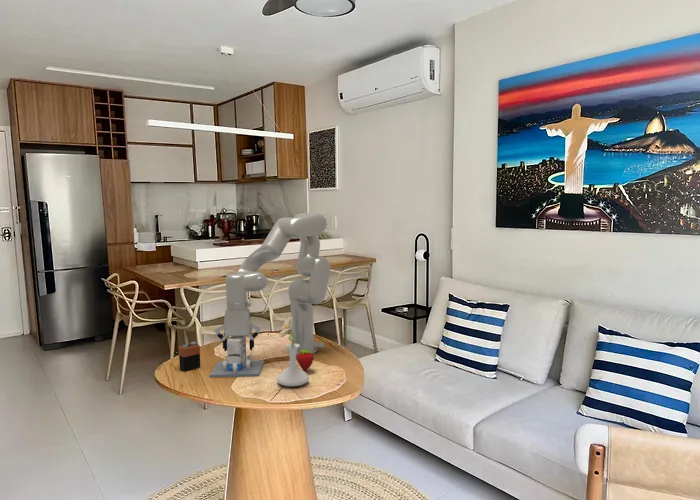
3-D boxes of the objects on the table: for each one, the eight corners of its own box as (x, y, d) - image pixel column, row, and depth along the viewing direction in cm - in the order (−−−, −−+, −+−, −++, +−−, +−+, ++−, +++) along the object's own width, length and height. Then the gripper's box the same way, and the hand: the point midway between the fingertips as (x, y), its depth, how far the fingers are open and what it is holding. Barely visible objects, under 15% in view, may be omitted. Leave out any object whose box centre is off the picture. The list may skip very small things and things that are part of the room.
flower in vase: (280, 377, 177) (278, 310, 175) (310, 378, 176) (310, 310, 174) (273, 391, 164) (272, 319, 162) (306, 391, 163) (305, 319, 161)
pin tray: (263, 362, 194) (263, 351, 194) (258, 376, 178) (258, 364, 178) (218, 363, 193) (218, 352, 193) (209, 377, 177) (209, 365, 177)
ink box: (239, 371, 181) (239, 340, 180) (227, 370, 182) (226, 340, 181) (247, 363, 190) (246, 334, 189) (235, 363, 190) (234, 334, 189)
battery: (200, 367, 188) (200, 342, 187) (184, 371, 184) (183, 346, 183) (195, 365, 191) (194, 340, 191) (179, 369, 187) (178, 344, 186)
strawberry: (307, 367, 188) (306, 342, 187) (316, 372, 182) (316, 347, 181) (293, 370, 185) (293, 344, 184) (303, 376, 178) (302, 349, 178)
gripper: (260, 303, 188) (262, 346, 190) (216, 304, 187) (218, 347, 189) (258, 307, 180) (260, 352, 182) (211, 309, 179) (213, 353, 181)
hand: (238, 349), depth 185 cm, fingers open, 9 cm apart
